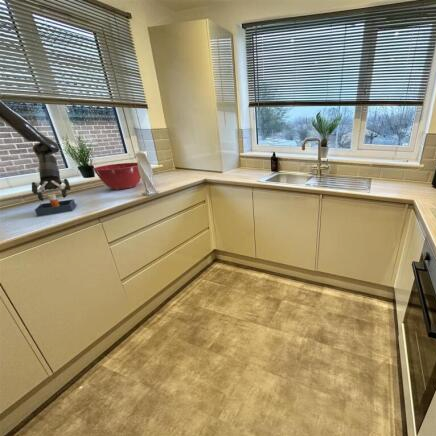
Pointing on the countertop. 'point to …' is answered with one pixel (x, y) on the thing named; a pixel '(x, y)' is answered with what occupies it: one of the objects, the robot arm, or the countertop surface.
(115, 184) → the mixing bowl
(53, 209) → the tote
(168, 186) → the countertop surface
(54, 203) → the glue stick
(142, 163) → the white statue
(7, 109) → the robot arm
